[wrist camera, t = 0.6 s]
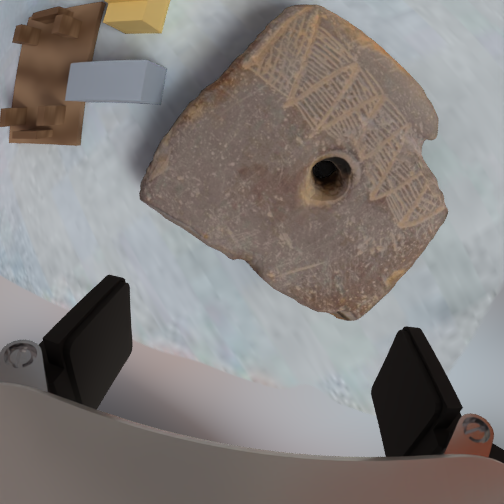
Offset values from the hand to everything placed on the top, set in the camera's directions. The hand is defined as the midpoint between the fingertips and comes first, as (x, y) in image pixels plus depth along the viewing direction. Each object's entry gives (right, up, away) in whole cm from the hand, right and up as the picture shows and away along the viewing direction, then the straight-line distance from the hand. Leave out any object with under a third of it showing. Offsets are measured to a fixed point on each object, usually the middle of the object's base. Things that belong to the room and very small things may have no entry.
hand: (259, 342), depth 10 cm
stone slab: (+7, +13, +25) cm, 29 cm away
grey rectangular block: (-15, +23, +23) cm, 36 cm away
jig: (-28, +27, +23) cm, 45 cm away
